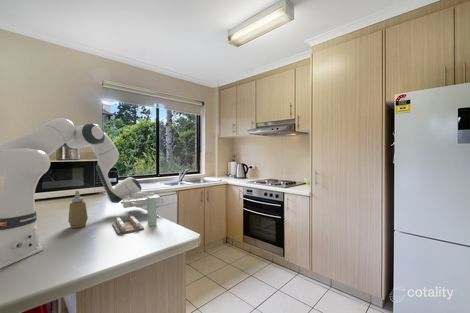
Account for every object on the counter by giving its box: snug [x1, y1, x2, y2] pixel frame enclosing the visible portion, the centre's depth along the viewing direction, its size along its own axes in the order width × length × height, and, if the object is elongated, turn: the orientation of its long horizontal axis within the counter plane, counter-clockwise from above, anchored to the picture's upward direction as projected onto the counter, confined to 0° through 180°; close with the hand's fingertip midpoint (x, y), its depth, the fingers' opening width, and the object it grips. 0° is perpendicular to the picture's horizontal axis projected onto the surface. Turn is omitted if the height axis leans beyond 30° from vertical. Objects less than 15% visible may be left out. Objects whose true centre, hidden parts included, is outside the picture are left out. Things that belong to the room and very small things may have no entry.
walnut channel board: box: [111, 214, 145, 236], centre depth 108 cm, size 18×11×4 cm, turn 36°
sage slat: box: [146, 196, 158, 227], centre depth 112 cm, size 5×3×14 cm, turn 36°
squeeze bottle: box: [67, 190, 89, 229], centre depth 111 cm, size 8×8×18 cm
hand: (145, 203), depth 121 cm, fingers open, 8 cm apart
